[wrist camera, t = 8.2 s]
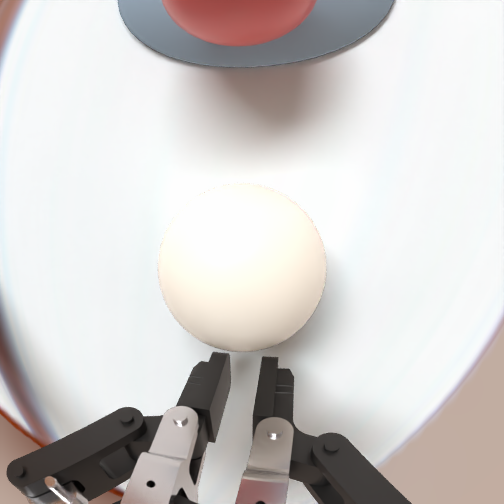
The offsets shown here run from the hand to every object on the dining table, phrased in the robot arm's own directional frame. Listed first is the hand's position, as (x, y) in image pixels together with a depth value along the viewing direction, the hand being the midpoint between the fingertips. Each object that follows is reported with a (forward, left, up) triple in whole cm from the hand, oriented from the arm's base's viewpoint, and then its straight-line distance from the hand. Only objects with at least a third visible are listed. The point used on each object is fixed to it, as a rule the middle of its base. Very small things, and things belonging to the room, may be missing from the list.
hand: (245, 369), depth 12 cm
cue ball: (+3, +5, +1) cm, 6 cm away
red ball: (+8, +14, +1) cm, 16 cm away
